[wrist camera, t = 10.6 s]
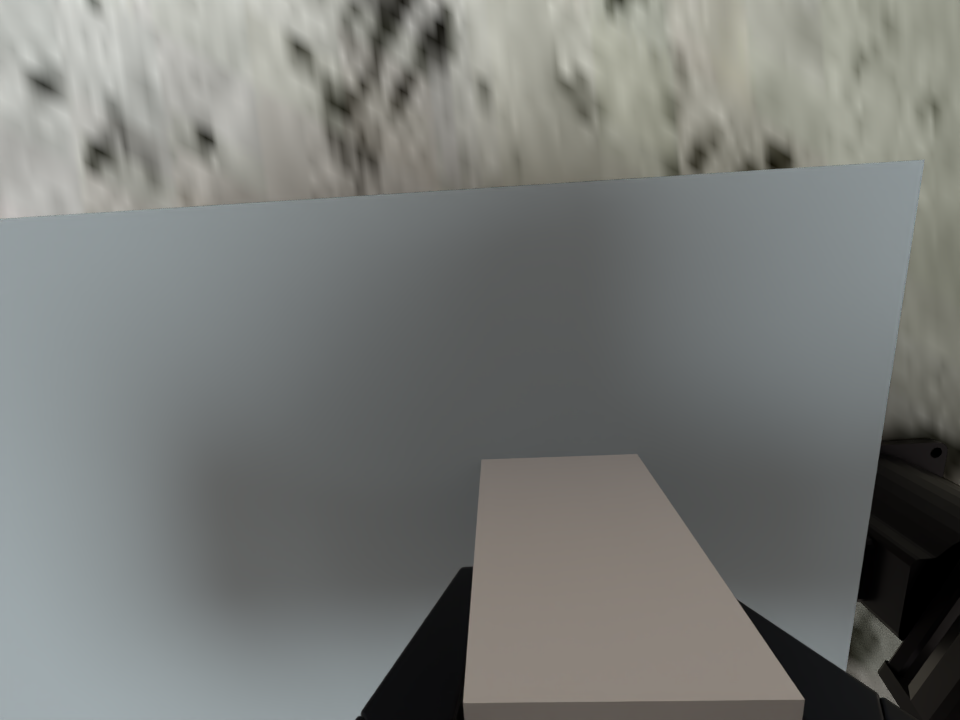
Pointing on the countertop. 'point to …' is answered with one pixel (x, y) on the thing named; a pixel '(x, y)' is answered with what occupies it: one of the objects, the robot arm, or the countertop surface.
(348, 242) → the lid
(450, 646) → the robot arm
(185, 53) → the countertop surface
